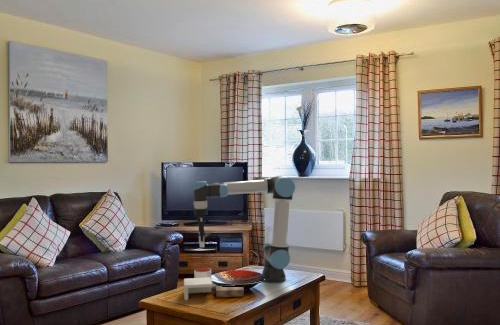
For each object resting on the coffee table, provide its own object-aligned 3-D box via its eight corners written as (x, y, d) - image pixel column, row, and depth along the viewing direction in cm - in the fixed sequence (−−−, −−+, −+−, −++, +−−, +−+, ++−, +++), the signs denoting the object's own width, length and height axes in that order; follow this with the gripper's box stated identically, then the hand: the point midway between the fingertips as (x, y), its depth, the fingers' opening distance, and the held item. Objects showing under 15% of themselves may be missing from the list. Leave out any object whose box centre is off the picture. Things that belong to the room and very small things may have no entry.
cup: (210, 289, 268) (210, 272, 268) (193, 289, 269) (193, 272, 269) (212, 284, 278) (212, 268, 278) (195, 284, 279) (195, 268, 279)
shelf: (210, 291, 264) (210, 277, 264) (212, 298, 250) (212, 283, 250) (184, 292, 262) (184, 278, 262) (184, 300, 248) (184, 285, 248)
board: (242, 292, 263) (242, 285, 263) (243, 296, 254) (243, 289, 254) (216, 293, 262) (216, 286, 262) (216, 298, 253) (216, 290, 253)
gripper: (193, 206, 278) (194, 241, 278) (194, 210, 253) (195, 249, 253) (206, 205, 279) (207, 240, 279) (208, 210, 254) (209, 248, 254)
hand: (201, 245), depth 266 cm, fingers open, 13 cm apart
